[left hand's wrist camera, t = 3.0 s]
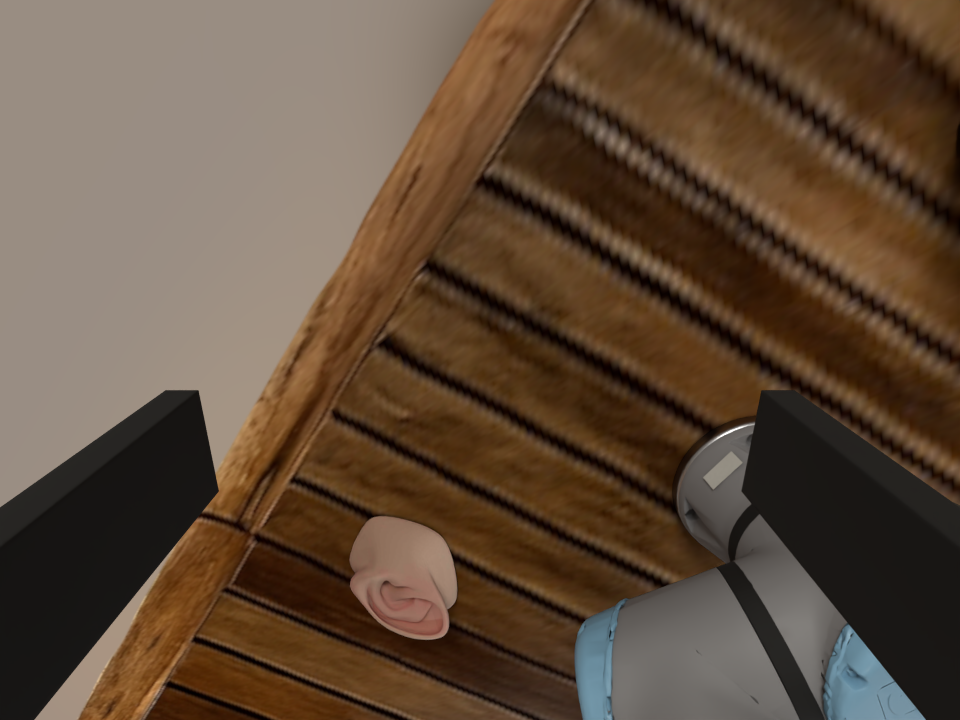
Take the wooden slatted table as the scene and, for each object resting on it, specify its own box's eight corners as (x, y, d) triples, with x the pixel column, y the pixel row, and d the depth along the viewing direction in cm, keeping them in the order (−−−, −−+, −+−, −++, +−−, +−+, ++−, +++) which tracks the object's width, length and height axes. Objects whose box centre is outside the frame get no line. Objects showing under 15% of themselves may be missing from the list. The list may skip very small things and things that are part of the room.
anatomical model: (336, 540, 50) (456, 542, 50) (346, 514, 54) (458, 516, 54) (345, 644, 55) (455, 646, 55) (354, 613, 59) (456, 615, 59)
